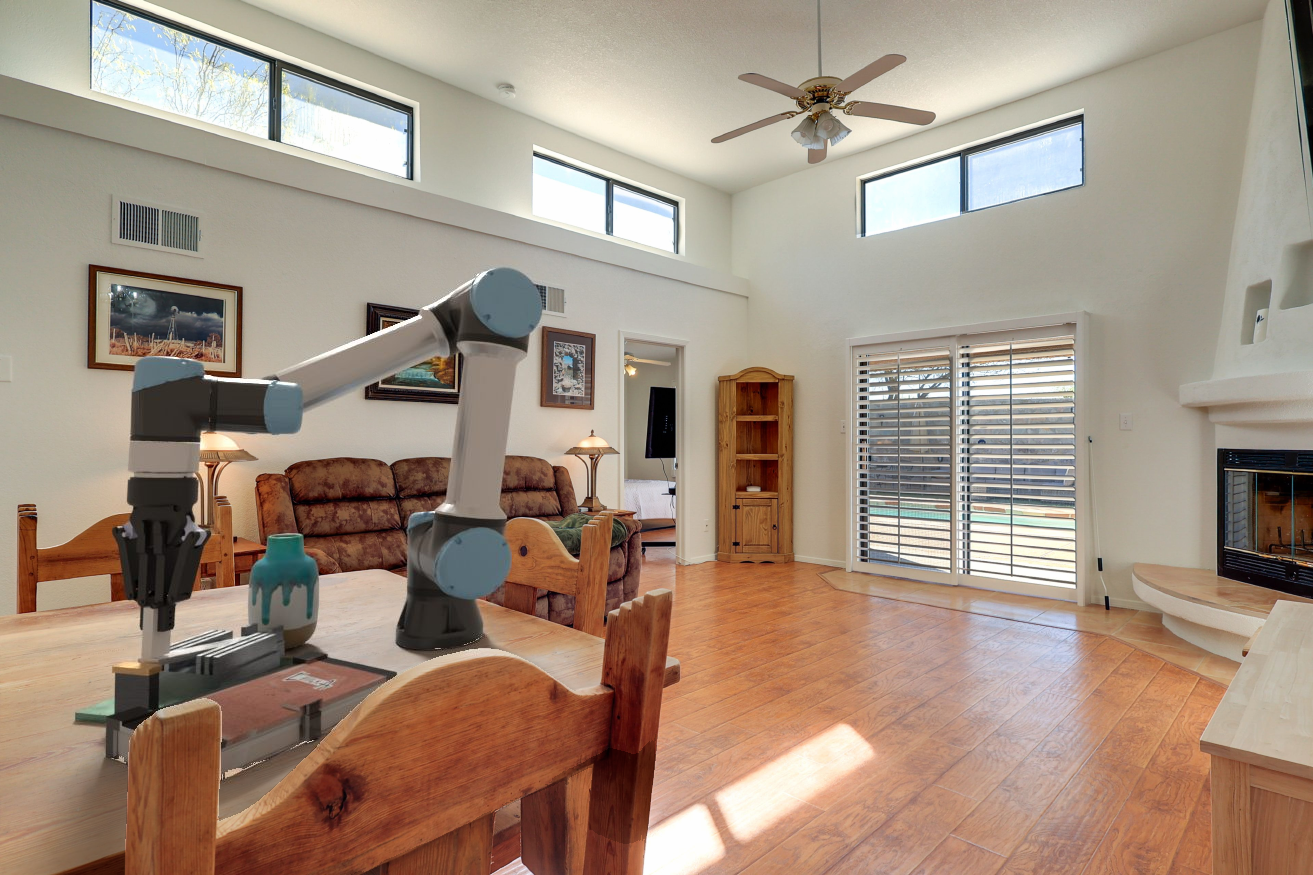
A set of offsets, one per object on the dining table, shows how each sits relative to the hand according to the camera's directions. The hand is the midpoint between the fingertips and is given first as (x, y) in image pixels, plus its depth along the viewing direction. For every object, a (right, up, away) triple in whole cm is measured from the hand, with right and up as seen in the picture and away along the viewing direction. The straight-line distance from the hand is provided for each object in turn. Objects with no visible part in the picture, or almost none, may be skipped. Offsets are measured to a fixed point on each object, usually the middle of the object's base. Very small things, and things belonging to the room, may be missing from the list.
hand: (155, 655), depth 87 cm
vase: (+2, -8, +27) cm, 28 cm away
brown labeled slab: (+17, -8, -4) cm, 19 cm away
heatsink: (+1, -7, +8) cm, 11 cm away
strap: (+2, -2, +8) cm, 9 cm away
